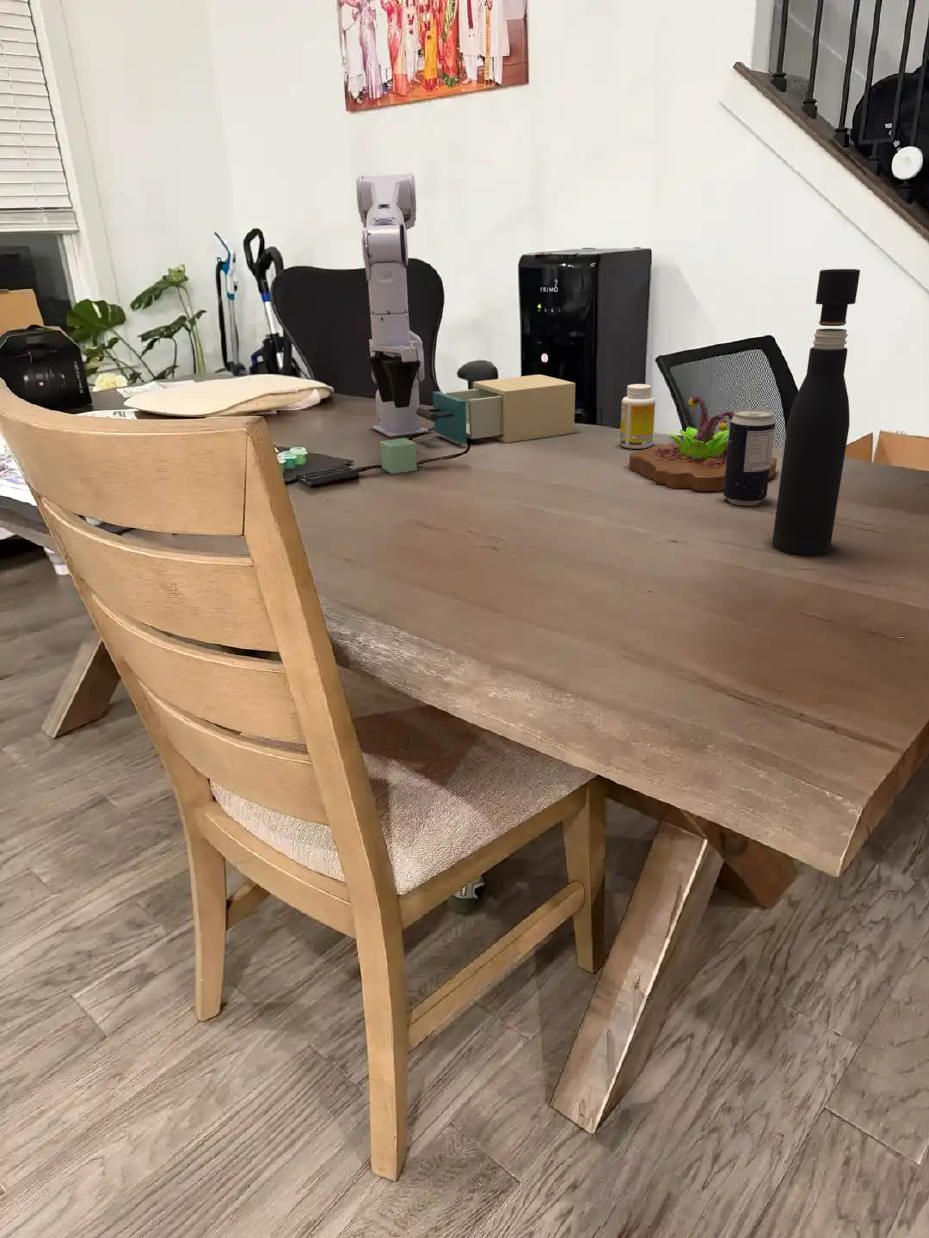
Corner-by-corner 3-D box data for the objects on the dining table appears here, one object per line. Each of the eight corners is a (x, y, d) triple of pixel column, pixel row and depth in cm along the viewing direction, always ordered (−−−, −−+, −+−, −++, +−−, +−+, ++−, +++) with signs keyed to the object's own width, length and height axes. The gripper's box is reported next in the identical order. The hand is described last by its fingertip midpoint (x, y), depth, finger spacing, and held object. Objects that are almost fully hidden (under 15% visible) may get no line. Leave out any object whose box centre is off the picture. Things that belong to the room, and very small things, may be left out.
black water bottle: (824, 559, 95) (868, 271, 82) (765, 550, 98) (800, 272, 86) (835, 542, 100) (878, 268, 87) (779, 534, 103) (813, 268, 90)
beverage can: (766, 496, 117) (776, 409, 112) (765, 508, 112) (776, 417, 107) (723, 494, 119) (732, 407, 114) (721, 505, 114) (729, 416, 109)
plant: (705, 450, 142) (711, 382, 137) (796, 475, 126) (806, 399, 121) (608, 467, 134) (611, 396, 129) (693, 497, 118) (700, 416, 113)
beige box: (505, 443, 152) (504, 391, 148) (474, 430, 162) (472, 381, 158) (574, 433, 157) (575, 383, 153) (539, 421, 168) (540, 374, 164)
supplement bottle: (659, 446, 146) (663, 385, 142) (638, 451, 143) (641, 389, 138) (634, 441, 150) (637, 382, 146) (613, 446, 147) (615, 386, 142)
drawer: (437, 446, 147) (435, 404, 144) (412, 434, 156) (409, 394, 153) (527, 434, 154) (527, 393, 150) (498, 423, 163) (497, 384, 160)
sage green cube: (382, 468, 138) (380, 441, 136) (406, 464, 140) (405, 438, 138) (391, 474, 134) (390, 446, 133) (417, 470, 136) (415, 443, 134)
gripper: (433, 314, 123) (437, 408, 128) (396, 308, 135) (401, 394, 140) (387, 317, 120) (394, 414, 126) (354, 311, 132) (361, 399, 138)
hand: (395, 404), depth 133 cm, fingers open, 5 cm apart
